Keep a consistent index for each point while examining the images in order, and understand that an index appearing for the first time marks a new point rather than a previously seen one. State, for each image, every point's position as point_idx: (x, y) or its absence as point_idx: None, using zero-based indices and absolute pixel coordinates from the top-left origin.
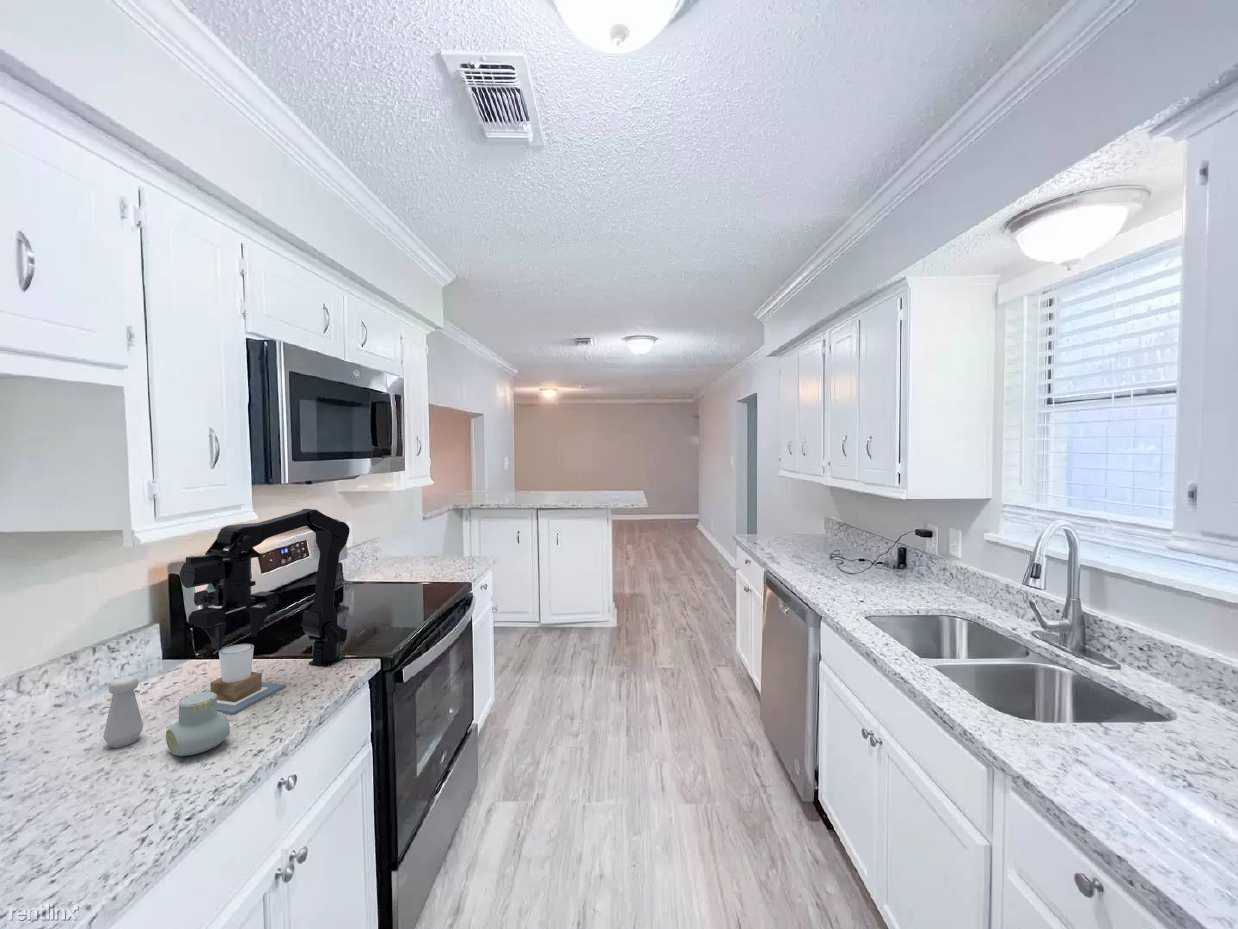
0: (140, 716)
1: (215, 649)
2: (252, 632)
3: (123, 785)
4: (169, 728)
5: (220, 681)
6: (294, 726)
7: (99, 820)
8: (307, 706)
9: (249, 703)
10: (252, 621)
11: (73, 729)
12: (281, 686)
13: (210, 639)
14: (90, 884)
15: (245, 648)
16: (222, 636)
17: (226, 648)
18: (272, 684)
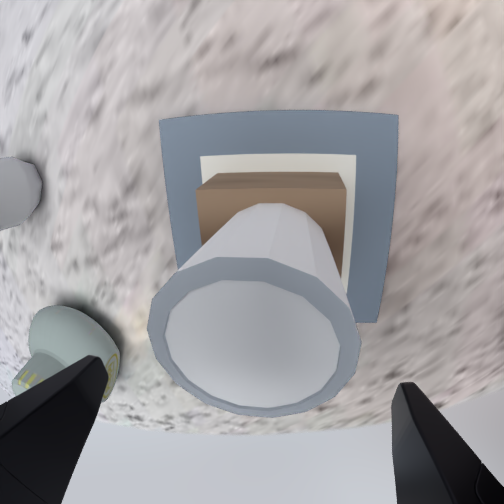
0: (7, 217)
1: (87, 358)
2: (403, 418)
3: (14, 313)
4: (29, 337)
5: (216, 225)
6: (207, 428)
7: (2, 340)
8: (280, 416)
9: None
10: (434, 501)
11: (28, 12)
12: (363, 321)
13: (21, 395)
14: (7, 385)
15: (275, 390)
16: (63, 470)
17: (233, 281)
18: (374, 284)
